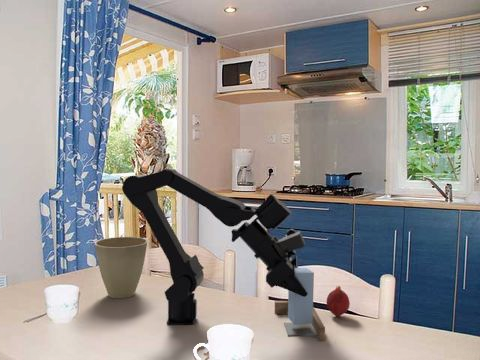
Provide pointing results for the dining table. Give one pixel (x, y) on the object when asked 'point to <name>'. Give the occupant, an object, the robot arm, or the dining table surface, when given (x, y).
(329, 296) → the onion
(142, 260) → the plant pot
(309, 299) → the block
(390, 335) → the dining table surface
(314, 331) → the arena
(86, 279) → the dining table surface
